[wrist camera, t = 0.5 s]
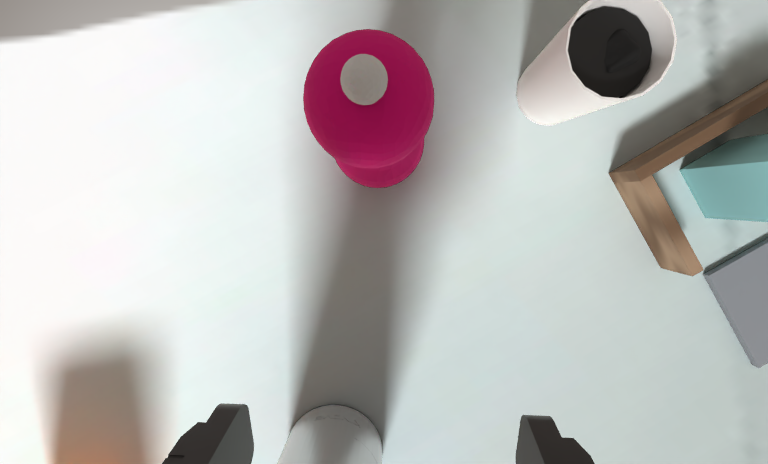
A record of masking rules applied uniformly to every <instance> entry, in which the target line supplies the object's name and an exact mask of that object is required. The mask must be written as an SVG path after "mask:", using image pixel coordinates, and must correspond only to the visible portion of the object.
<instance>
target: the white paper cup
mask: <svg viewBox="0 0 768 464" xmlns="http://www.w3.org/2000/svg"><path fill="white" fill-rule="evenodd" d="M676 43H677V36H676V31H675V26H674V21H673V17H672V16H671V14H670V13H669V12H668V10H667V9H666V7H665V6H664V5H663V3H662V2H661V0H589V1H588V2H587V3H585V4H584V5H583V6H582V7H580V9H579V10H578V11H577V12H576V13H575V14H574V15H573V16H572V18H571V19H570V20H569V21H568V22H567V23H566V24H565V25H564V27H563V28H562V29H561V30H560V31H559V32H558V33H557V34H556V36H555V37H554V38H553V39H552V40H551V41H550V42H549V44H548V45H547V46H546V47H545V48H544V49H543V50H542V51H541V53H540V54H539V55H538V56H537V57H536V58H535V59H534V60H533V62H532V63H531V64H530V65H529V66H528V67H527V68H526V69H525V71H524V72H523V74H522V76H521V78H520V79H519V81H518V85H517V92H516V97H517V101H518V105H519V108H520V110H521V111H522V112H523V114H524V115H525V116H526V118H528V119H529V120H531V121H533V122H535V123H536V124H539V125H548V126H552V125H555V124H559V123H562V122H565V121H568V120H571V119H574V118H577V117H580V116H583V115H586V114H589V113H592V112H595V111H598V110H601V109H604V108H607V107H609V106H612V105H615V104H618V103H621V102H624V101H627V100H630V99H633V98H636V97H639V96H642V95H644V94H646V93H647V92H648V91H649V90H651V89H652V88H653V87H655V86H656V85H657V84H658V83H660V82H661V81H662V79H663V78H664V76H665V74H666V73H667V71H668V69H669V68H670V66H671V64H672V63H673V60H674V54H675V49H676Z"/></svg>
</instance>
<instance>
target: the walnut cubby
mask: <svg viewBox="0 0 768 464" xmlns="http://www.w3.org/2000/svg"><path fill="white" fill-rule="evenodd" d="M767 107H768V80H766V81H764V82H762V83H761V84H759V85H757V86H756V87H754V88H752V89H751V90H749V91H747V92H745V93H744V94H742V95H740V96H739V97H737V98H735V99H734V100H732V101H730V102H729V103H727V104H725V105H723V106H722V107H720V108H718V109H717V110H715V111H713V112H712V113H710V114H708V115H706V116H705V117H703V118H701V119H700V120H698V121H696V122H695V123H693V124H691V125H690V126H688V127H686V128H684V129H683V130H681V131H679V132H678V133H676V134H674V135H673V136H671V137H669V138H668V139H666V140H664V141H662V142H661V143H659V144H657V145H656V146H654V147H652V148H651V149H649V150H647V151H645V152H644V153H642V154H640V155H639V156H637V157H635V158H634V159H632V160H630V161H629V162H627V163H625V164H623V165H622V166H620V167H618V168H617V169H615V170H613V171H612V172H610V173H609V175H610V177H611V179H612V180H613V182H614V184H615V186H616V188H617V190H618V191H619V193H620V195H621V197H622V199H623V200H624V202H625V204H626V206H627V208H628V209H629V211H630V213H631V215H632V217H633V219H634V220H635V222H636V224H637V226H638V228H639V229H640V231H641V233H642V235H643V237H644V238H645V240H646V242H647V244H648V246H649V247H650V249H651V251H652V253H653V255H654V257H655V258H656V260H657V262H658V264H659V266H660V267H661V268H663V269H667V270H671V271H674V272H678V273H682V274H686V275H690V276H694V275H696V274H697V273H699V272H701V271H703V268H702V266H701V264H700V262H699V260H698V259H697V257H696V255H695V253H694V251H693V249H692V248H691V246H690V244H689V242H688V240H687V238H686V237H685V235H684V233H683V231H682V229H681V227H680V225H679V224H678V222H677V220H676V218H675V216H674V214H673V213H672V211H671V209H670V207H669V205H668V203H667V202H666V200H665V198H664V196H663V194H662V192H661V190H660V189H659V187H658V185H657V183H656V181H655V179H654V178H653V176H652V174H654V173H656V172H657V171H659V170H661V169H662V168H664V167H666V166H668V165H669V164H671V163H673V162H674V161H676V160H678V159H679V158H681V157H683V156H685V155H686V154H688V153H690V152H691V151H693V150H695V149H697V148H698V147H700V146H702V145H703V144H705V143H707V142H709V141H710V140H712V139H714V138H715V137H717V136H719V135H721V134H722V133H724V132H726V131H727V130H729V129H731V128H732V127H734V126H736V125H738V124H739V123H741V122H743V121H744V120H746V119H748V118H750V117H751V116H753V115H755V114H756V113H758V112H760V111H762V110H763V109H765V108H767Z"/></svg>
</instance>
